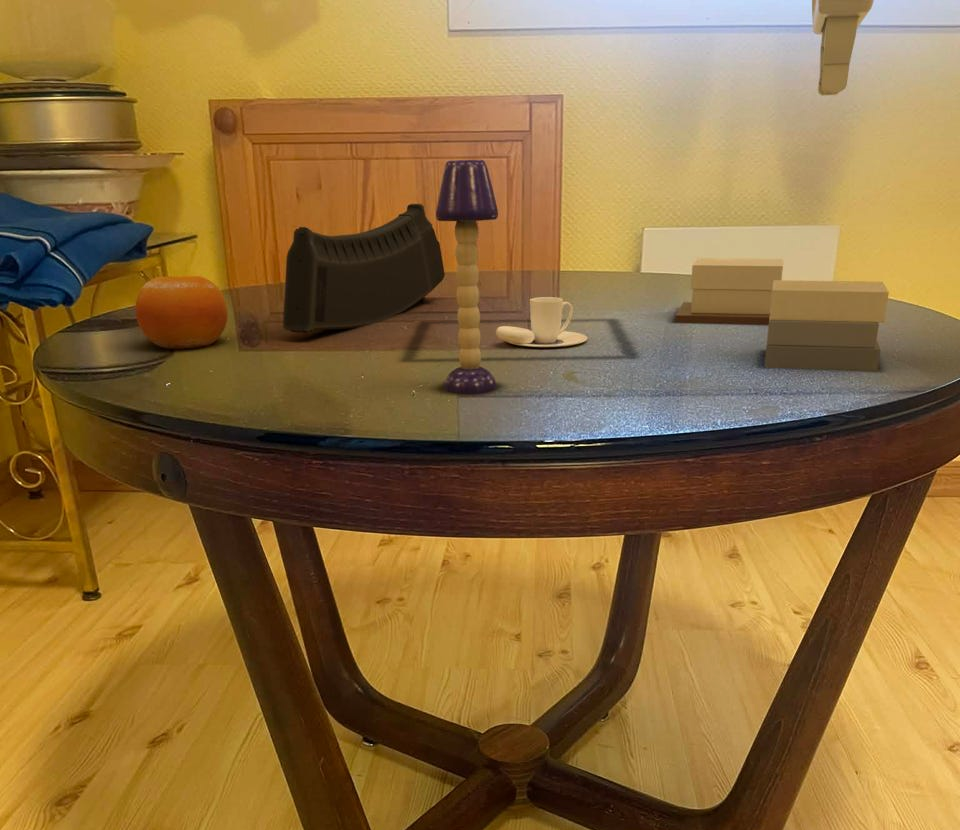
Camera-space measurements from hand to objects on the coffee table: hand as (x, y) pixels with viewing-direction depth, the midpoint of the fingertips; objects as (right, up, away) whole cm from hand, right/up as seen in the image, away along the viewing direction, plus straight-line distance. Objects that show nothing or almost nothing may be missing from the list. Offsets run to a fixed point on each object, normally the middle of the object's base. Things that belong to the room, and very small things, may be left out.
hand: (830, 93), depth 79 cm
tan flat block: (+2, -15, +6) cm, 17 cm away
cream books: (0, -8, +29) cm, 30 cm away
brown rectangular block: (+2, -19, +8) cm, 21 cm away
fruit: (-57, -14, +21) cm, 62 cm away
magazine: (-39, -7, +33) cm, 52 cm away
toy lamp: (-28, -23, +2) cm, 36 cm away
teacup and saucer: (-24, -14, +20) cm, 34 cm away
